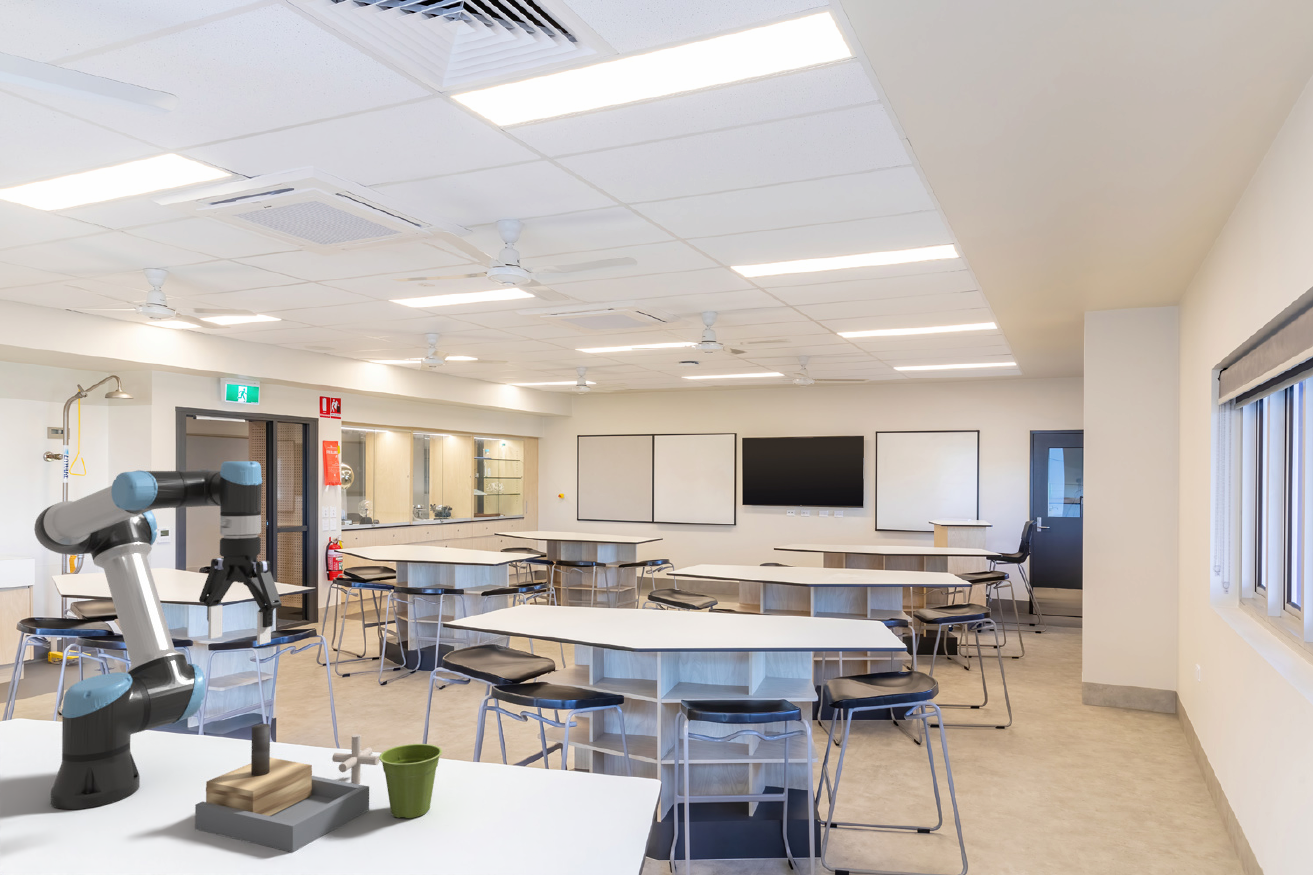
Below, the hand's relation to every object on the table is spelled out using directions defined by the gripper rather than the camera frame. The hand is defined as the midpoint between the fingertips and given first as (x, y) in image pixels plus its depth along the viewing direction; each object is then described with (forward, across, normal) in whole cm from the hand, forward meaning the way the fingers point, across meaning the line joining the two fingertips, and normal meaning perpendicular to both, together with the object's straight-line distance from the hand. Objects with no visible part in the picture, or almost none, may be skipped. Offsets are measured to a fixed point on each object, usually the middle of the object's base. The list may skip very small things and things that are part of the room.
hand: (239, 640), depth 169 cm
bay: (+32, +17, -4) cm, 36 cm away
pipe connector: (+32, +17, +15) cm, 39 cm away
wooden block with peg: (+30, +11, -4) cm, 32 cm away
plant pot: (+32, +37, +8) cm, 50 cm away
